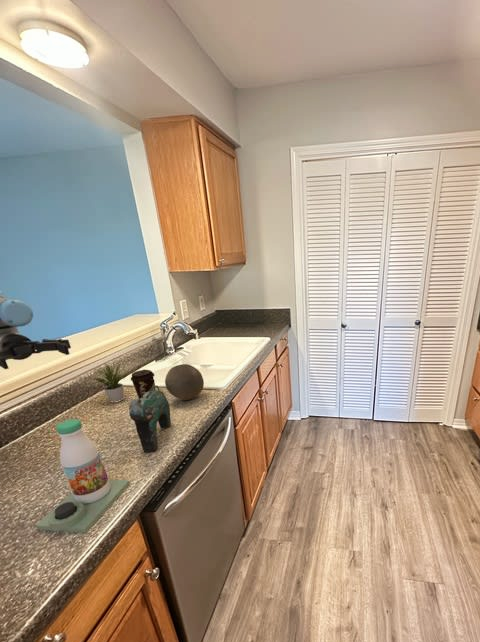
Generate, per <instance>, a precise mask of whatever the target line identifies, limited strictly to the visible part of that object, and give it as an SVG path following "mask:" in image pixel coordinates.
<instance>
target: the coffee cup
mask: <svg viewBox="0 0 480 642" xmlns="http://www.w3.org/2000/svg"><path fill="white" fill-rule="evenodd" d="M154 377H155V373H154V372H153V371H152V370H150V369H140V370H137V371H133V372H132V373H131V376H130V381H131V382H132V384H133V387H134V391H135V392H136V395H137V399H141V398H142V396H141V393H140V387H141V385H142V384H146V386H145V385H143V386H142V391H141V392H142V395H144V394H145V393H147V392H148V391H150V389H151V388H152V387H153V386H156V382H155V379H154ZM155 390H157V389H156V387H155V388H153V389H152V391H155Z"/></svg>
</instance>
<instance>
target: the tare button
mask: <svg viewBox="0 0 480 642" xmlns="http://www.w3.org/2000/svg"><path fill="white" fill-rule="evenodd" d="M57 506H58V505H57ZM57 506H56V507H57ZM56 507H55V508H56ZM55 508H54V509H55ZM75 512H76V508H75V506H74V503H72V502H67V503H63V504H61V505H60V506H58V507H57V508H56V509H55V514H56V517H57V519H59V520H62V519H65V518H68V517H70V516H71V515H73V514H74V513H75Z"/></svg>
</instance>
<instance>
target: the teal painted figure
mask: <svg viewBox="0 0 480 642" xmlns="http://www.w3.org/2000/svg"><path fill="white" fill-rule="evenodd" d="M143 385H145V386H146V384H142V385H141V387H140V393H141V396H142V398H141V399H139V398H135V399H132V400H131V401H130V402H129V406H128V413H129V417H130V419H131V420H132V421H133V422H134V425H135V428H136V433H137V436H138V439H139V441H140V446H141V448H142V451H143V453H145V454H146V453H156V452H157V450H158V448H159V444H158V436H157V435H158V434H157V433H158V432H157V431H158V430H157V426H158V425H159V428H160V429H161V428H162V429H169V428H171V425H172V420H171V407H170V404H169V400H168V398H167V396H166V395H165V394H164V392H163V391H162V390H160V388H159V386H158V385H155V386H153V387H152V388H151V389H150V391H148V392H147V393H145V394H144V395H142V392H141V391H142V386H143ZM153 388H155V389H156V388H157V389H156V390H155V391H152V389H153Z"/></svg>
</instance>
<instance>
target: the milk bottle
mask: <svg viewBox="0 0 480 642" xmlns="http://www.w3.org/2000/svg"><path fill="white" fill-rule="evenodd" d="M55 427H56V433H58V436H59V437H60V439H61V442H60V443H61V445H60V450H59V460H60V461H59V462H60V464H61V468H62V471H63V473H64V477H65V478H66V481H67V483H68V486H69V488H70V491H71V493H72V494H73V496H74V498H75V500H76V502H81V503H82V504H88V503H92V502H95V501H97V500H99V499H101V498H103V497H104V496H105V495H106V494H107V493H108V492H109V490H110V483H109V479H110V478H109V477H108V473H107V471H106V468H105V465H104V462H103V459H102V456H101V454H100V451H99V449H98V447H97V445H96V444H95V443H94V441H92V439H90V438H89V437H88V436H87V435H86V434H85V433H84V431H83V425H82V422H81V420H80V419H78V418H70V419H67V420H63V421H61V422H60V423H58V424H57V425H56V426H55Z"/></svg>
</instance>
